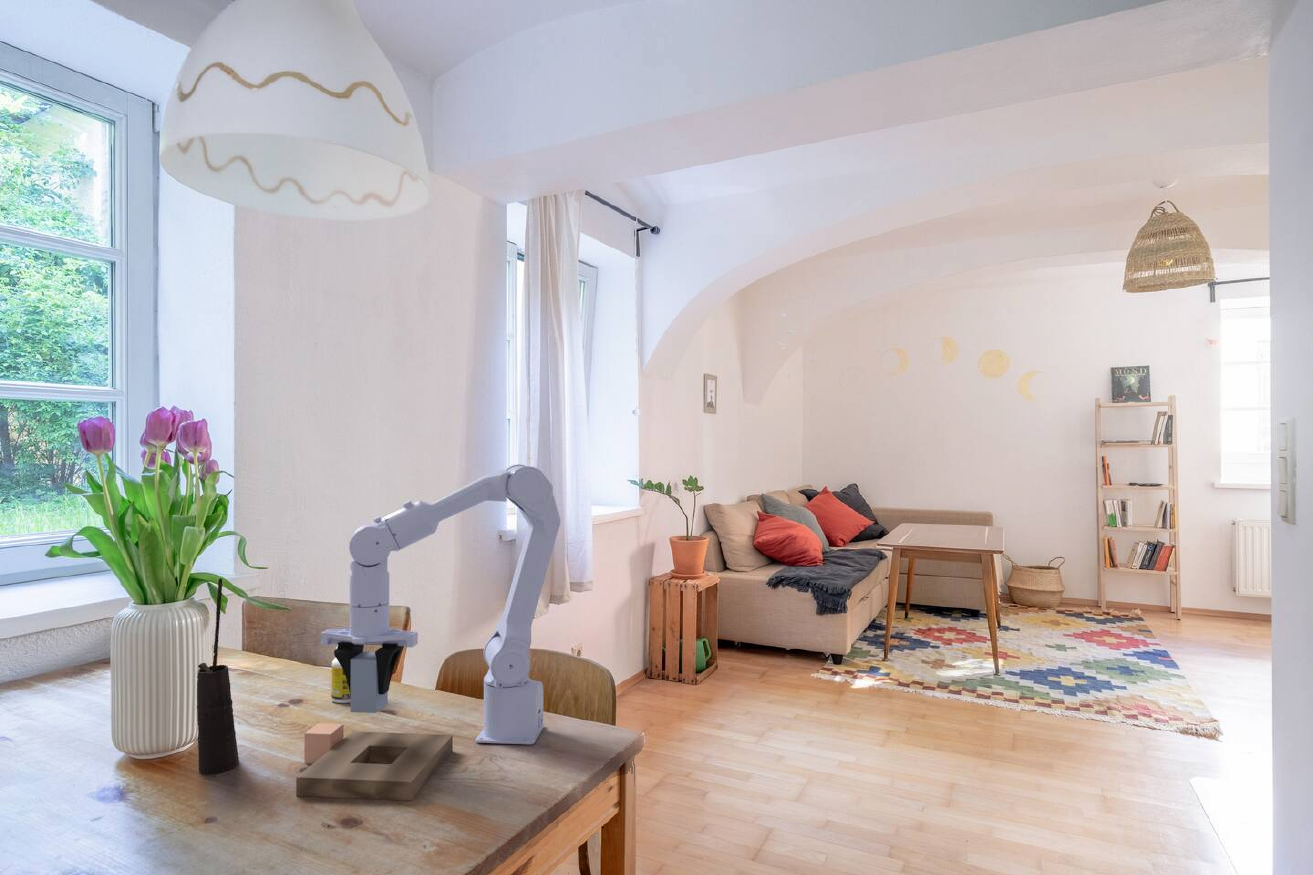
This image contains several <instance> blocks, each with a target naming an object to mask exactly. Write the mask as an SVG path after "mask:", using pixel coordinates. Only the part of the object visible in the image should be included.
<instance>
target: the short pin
mask: <svg viewBox="0 0 1313 875" xmlns="http://www.w3.org/2000/svg"><path fill="white" fill-rule="evenodd" d="M344 726H345V725H344V723H327V722H325V723H323V722H322V723H321V722H318V723H317V724H315V725H314V726H313V727H311V728H310V729H308V730H307V731H306V732H305V733H304V741H303V742H304V745H303V746H304V749H303V750H304V753H303V754H304V764H313V763H314V762H316V761H317V760H318V759H319V758H321V757H322V756H323V755H324V754H326V753H327V752H328V751H329V750H331V749H332V748H333V747H334V746H335V745H337V744H338V743H339V742H340V741H342V740H343V739H344V732H345V730H344V729H345V728H344Z"/></svg>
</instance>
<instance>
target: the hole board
mask: <svg viewBox="0 0 1313 875" xmlns="http://www.w3.org/2000/svg"><path fill="white" fill-rule="evenodd" d="M453 739H454V737H453V734H438V733H437V734H436V733H435V734H434V733H413V732H412V733H409V732H383V731H382V732H381V731H380V732H379V731H356V730H354V731H351V732H350V733H349V734H348V735H346V736H345V737H343V740H342V741H340V742H339V743H338V744H337V745H335V746H334V747H333V748H332V749H331V750H329V751H328V752H327V753H326V754H324V755H323V756H322V757H321V758H319V759H318V760H317V761H316V762H314V763H311V765H309V766H308V767H307V768H305V769H304V770H303V771H302V772H301V773H300V774H298V775H297V776H296V778H295V780H296V781H295V782H296V784H295V786H296V788H295V792H296V793H295V795H296V797H298V796H299V797H315V798H316V797H320V798H341V799H342V798H344V799H367V800H368V799H369V800H388V801H389V800H390V801H412V800H413V799H414V798H415V797H416V795H417V794H418V793H419V792H420V791H421V789H422V788H423V787H424V786H425V784H426V783H427V782H428V781H429V780H430V779H431V777H432V776H433V775H434V774H435V773H436V772H437V771H438V769H439V768H440V767H441V765H442V764H444V762H445V761H446V759H447V758H448V757H449V756H450V755H451V754H452V752H453V751H454V750H453V749H454V747H453V743H454V742H453V741H454V740H453Z"/></svg>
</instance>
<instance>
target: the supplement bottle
mask: <svg viewBox="0 0 1313 875" xmlns="http://www.w3.org/2000/svg"><path fill="white" fill-rule="evenodd" d="M337 647H338V645H337V646H336V648H335V650H336V649H337ZM330 679H331V680H330V682H331V684H330V686H331V688H330V690H331V691H330V698H331V701H332V702H334V703H336V704H337V703H338V704H348V703H351V693H350V691H349V687H348V683H347V680H346V676H345V674H344V671H343V669H342V667H341V665H340V663H339V661H338V660H337V658H336V657H334V659H333V660H332V661H331V678H330Z"/></svg>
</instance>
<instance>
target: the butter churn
mask: <svg viewBox="0 0 1313 875" xmlns="http://www.w3.org/2000/svg"><path fill="white" fill-rule="evenodd" d="M222 590H223V578H221V577H220V578H219V579H218V582H217V597H216V598H217V599H216V610H215V611H216V612H215V633H214V641H213V643H214V645H213V656H212V657H213V658H212V665H211V666H208V665H207V663H206V662H202V663H200V664H198V665H197V667H198V669H197V673H196V674H197V677H196V678H197V681H196V710H197V712H196V713H197V714H196V716H197V717H196V718H197V719H196V720H197V746H198V747H197V748H198V749H197V751H198V752H197V753H198V755H197V756H198V761H197V762H198V771H199V772H200V773H201V774H205V775H207V774H208V775H213V774H218V773H222V772H226V771H229V770H231V769H233V768H235V767H236V766H237V765H238V764H239V762H240V758H239V752H238V744H237V743H238V742H237V732H236V728H235V719H234V717H235V716H234V708H233V703H234V702H233V699H232V693H231V692H232V691H231V682H230V681H231V680H230V672H229V667H228V665H225V664H219V665H218V658H219V657H218V654H219V653H218V652H219V650H218V649H219V634H220V621H221V609H222V608H221V606H222V595H223V592H222Z"/></svg>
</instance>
